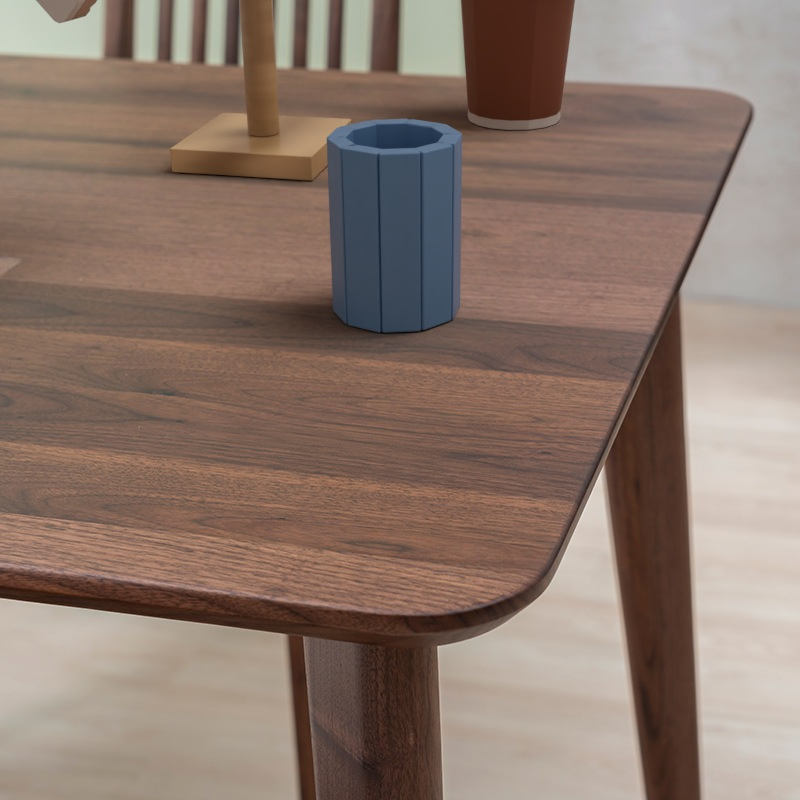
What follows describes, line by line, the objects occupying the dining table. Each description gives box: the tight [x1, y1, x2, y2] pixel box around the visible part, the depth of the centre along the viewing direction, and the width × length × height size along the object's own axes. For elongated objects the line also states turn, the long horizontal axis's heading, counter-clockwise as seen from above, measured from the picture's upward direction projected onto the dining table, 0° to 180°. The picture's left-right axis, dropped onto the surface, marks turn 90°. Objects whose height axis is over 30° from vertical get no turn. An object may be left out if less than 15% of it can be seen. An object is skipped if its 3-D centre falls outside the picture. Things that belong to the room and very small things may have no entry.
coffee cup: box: [460, 0, 576, 131], centre depth 85 cm, size 9×9×12 cm
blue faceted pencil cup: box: [327, 118, 463, 334], centre depth 56 cm, size 6×6×8 cm
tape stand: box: [169, 0, 352, 182], centre depth 78 cm, size 9×9×10 cm
